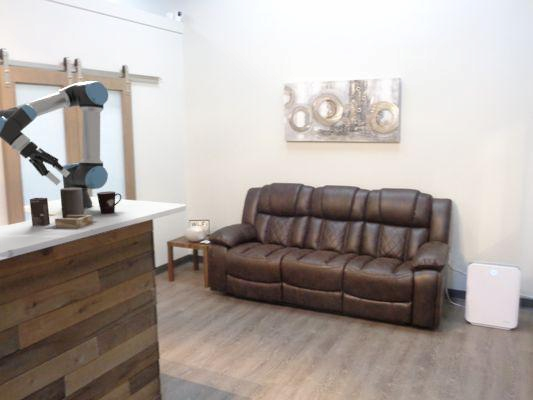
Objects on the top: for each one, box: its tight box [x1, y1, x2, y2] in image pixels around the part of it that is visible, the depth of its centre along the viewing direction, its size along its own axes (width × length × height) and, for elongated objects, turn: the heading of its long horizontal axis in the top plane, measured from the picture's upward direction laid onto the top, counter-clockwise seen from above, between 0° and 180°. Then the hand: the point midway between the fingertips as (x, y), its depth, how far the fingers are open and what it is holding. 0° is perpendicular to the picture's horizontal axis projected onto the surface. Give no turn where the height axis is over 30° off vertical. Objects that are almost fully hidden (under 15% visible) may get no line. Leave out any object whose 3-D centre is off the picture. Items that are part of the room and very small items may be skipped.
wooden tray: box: [54, 214, 94, 229], centre depth 215 cm, size 10×12×4 cm
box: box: [29, 197, 51, 227], centre depth 218 cm, size 6×4×12 cm
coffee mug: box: [96, 190, 122, 215], centre depth 246 cm, size 12×9×10 cm
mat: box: [44, 220, 98, 230], centre depth 216 cm, size 16×15×1 cm
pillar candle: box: [59, 186, 85, 218], centre depth 235 cm, size 10×10×15 cm
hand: (63, 179), depth 230 cm, fingers open, 13 cm apart
